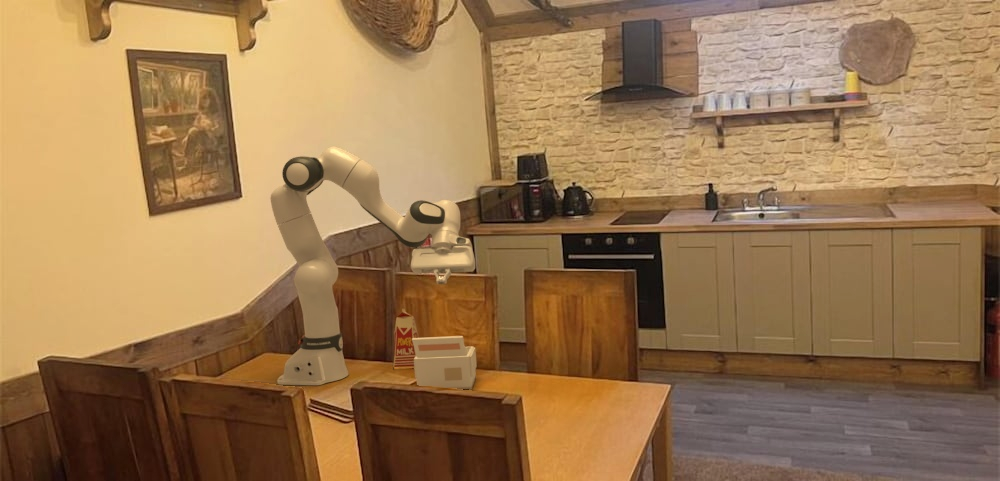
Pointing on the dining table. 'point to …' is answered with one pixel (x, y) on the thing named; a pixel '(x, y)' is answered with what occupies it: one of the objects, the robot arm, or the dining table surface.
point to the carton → (447, 370)
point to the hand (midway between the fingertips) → (441, 282)
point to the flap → (439, 346)
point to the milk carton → (404, 340)
